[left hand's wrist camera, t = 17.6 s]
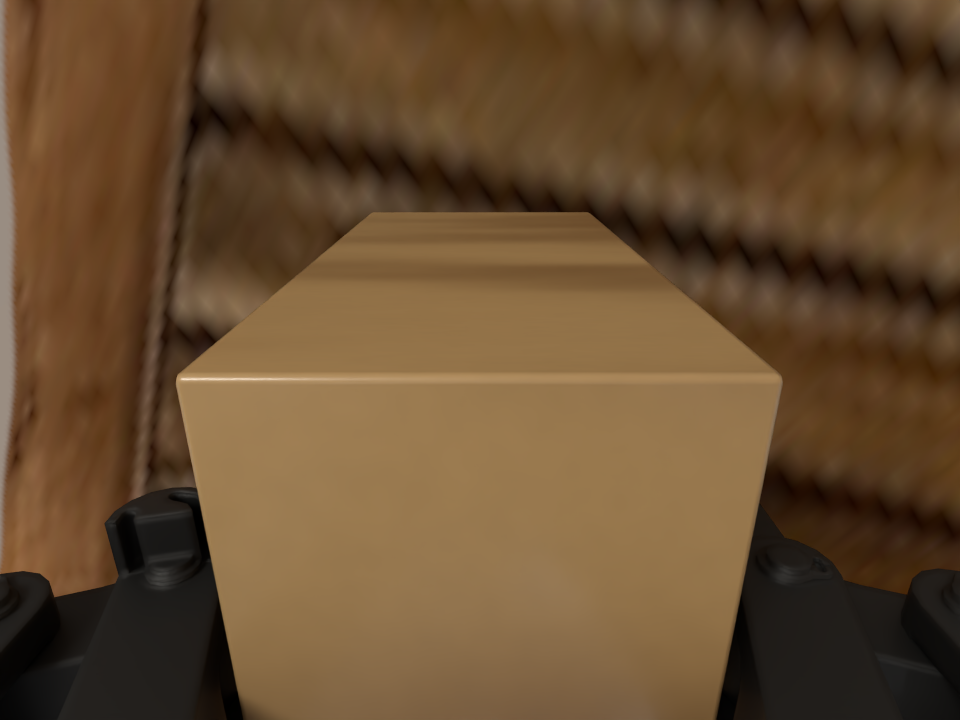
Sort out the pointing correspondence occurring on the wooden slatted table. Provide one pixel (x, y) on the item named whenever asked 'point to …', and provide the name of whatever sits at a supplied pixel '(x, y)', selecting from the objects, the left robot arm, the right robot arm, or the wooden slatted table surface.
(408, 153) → the wooden slatted table surface
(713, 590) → the bar
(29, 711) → the left robot arm
